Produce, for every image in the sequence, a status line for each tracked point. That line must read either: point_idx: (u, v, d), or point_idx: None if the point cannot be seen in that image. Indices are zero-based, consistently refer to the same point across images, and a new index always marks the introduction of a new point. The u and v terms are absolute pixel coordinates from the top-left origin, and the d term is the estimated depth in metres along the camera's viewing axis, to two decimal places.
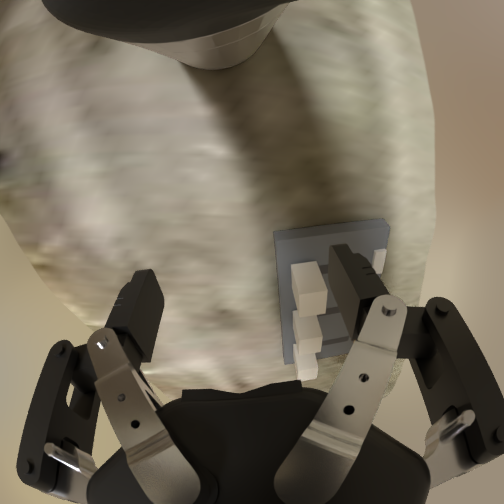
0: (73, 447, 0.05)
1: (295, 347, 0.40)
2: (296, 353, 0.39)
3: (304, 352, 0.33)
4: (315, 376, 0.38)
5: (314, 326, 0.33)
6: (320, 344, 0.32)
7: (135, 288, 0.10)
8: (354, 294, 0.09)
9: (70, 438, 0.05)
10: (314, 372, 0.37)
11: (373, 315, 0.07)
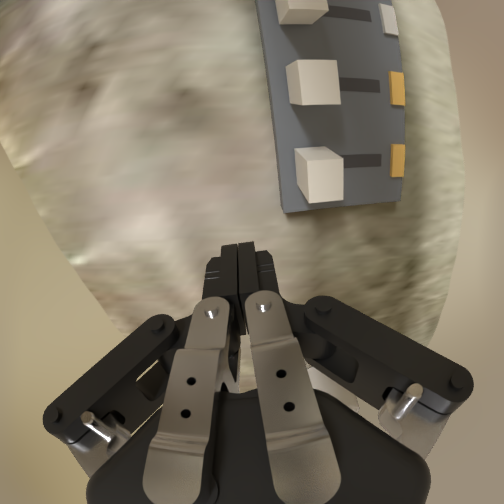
0: (115, 425, 0.06)
1: (298, 149, 0.23)
2: (300, 152, 0.22)
3: (311, 97, 0.17)
4: (340, 191, 0.21)
5: None
6: (336, 81, 0.16)
7: (229, 260, 0.11)
8: (239, 288, 0.10)
9: (120, 412, 0.07)
10: (337, 176, 0.20)
11: (252, 316, 0.08)
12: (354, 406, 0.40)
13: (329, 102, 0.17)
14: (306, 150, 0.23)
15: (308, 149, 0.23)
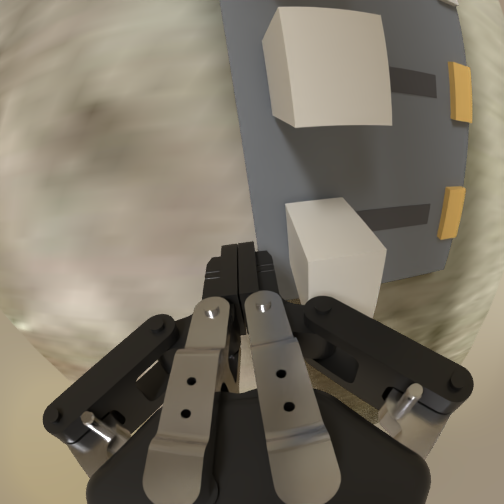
0: (115, 425, 0.06)
1: (292, 208, 0.13)
2: (296, 219, 0.12)
3: (321, 106, 0.06)
4: (370, 307, 0.10)
5: None
6: (383, 66, 0.06)
7: (229, 260, 0.11)
8: (239, 288, 0.10)
9: (120, 412, 0.07)
10: (368, 283, 0.10)
11: (252, 316, 0.08)
12: None
13: (366, 119, 0.06)
14: (308, 212, 0.12)
15: (312, 208, 0.12)
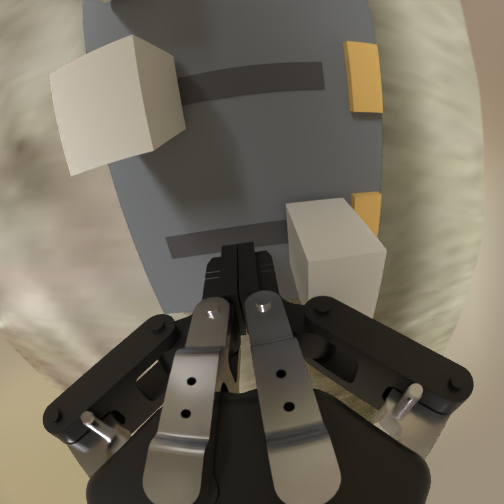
0: (115, 425, 0.06)
1: (293, 208, 0.13)
2: (297, 219, 0.12)
3: (84, 152, 0.06)
4: (370, 307, 0.10)
5: None
6: (135, 90, 0.06)
7: (229, 260, 0.11)
8: (239, 288, 0.10)
9: (120, 412, 0.07)
10: (368, 283, 0.10)
11: (252, 317, 0.08)
12: None
13: (123, 153, 0.07)
14: (308, 212, 0.12)
15: (312, 208, 0.12)
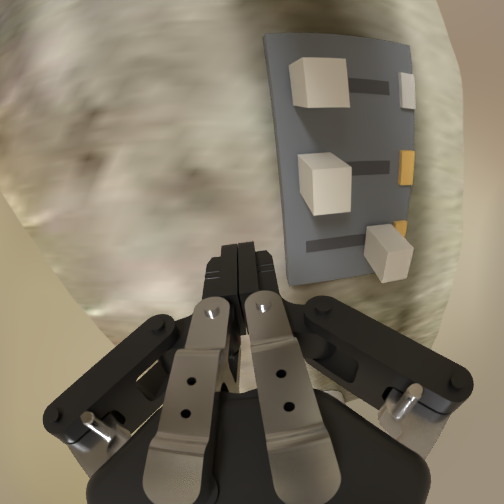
0: (115, 425, 0.06)
1: (371, 229, 0.26)
2: (375, 234, 0.25)
3: (323, 207, 0.20)
4: (406, 272, 0.24)
5: (335, 161, 0.19)
6: (349, 189, 0.19)
7: (229, 260, 0.11)
8: (239, 288, 0.10)
9: (120, 412, 0.07)
10: (406, 261, 0.23)
11: (252, 316, 0.08)
12: None
13: (339, 211, 0.20)
14: (379, 231, 0.25)
15: (379, 229, 0.25)
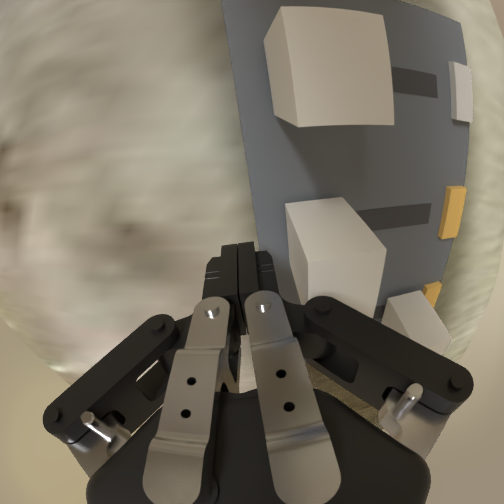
0: (115, 425, 0.06)
1: (394, 303, 0.17)
2: (400, 315, 0.16)
3: None
4: None
5: (353, 228, 0.10)
6: (376, 287, 0.10)
7: (229, 260, 0.11)
8: (239, 288, 0.10)
9: (120, 412, 0.07)
10: None
11: (252, 316, 0.08)
12: None
13: None
14: (405, 307, 0.16)
15: (406, 303, 0.16)
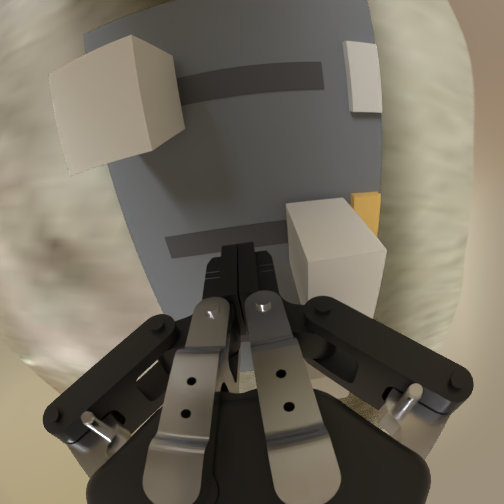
0: (115, 425, 0.06)
1: None
2: None
3: None
4: (345, 392, 0.15)
5: (353, 228, 0.10)
6: (376, 287, 0.10)
7: (229, 260, 0.11)
8: (239, 288, 0.10)
9: (120, 412, 0.07)
10: None
11: (252, 316, 0.08)
12: None
13: None
14: None
15: None
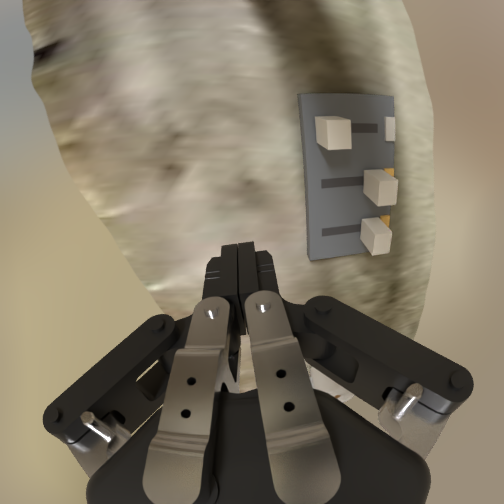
0: (115, 425, 0.06)
1: (364, 220, 0.39)
2: (367, 224, 0.38)
3: (382, 202, 0.33)
4: (388, 248, 0.37)
5: (387, 176, 0.33)
6: (396, 192, 0.32)
7: (229, 260, 0.11)
8: (239, 288, 0.10)
9: (120, 412, 0.07)
10: (387, 241, 0.36)
11: (252, 316, 0.08)
12: None
13: (390, 204, 0.33)
14: (369, 222, 0.39)
15: (370, 220, 0.39)
